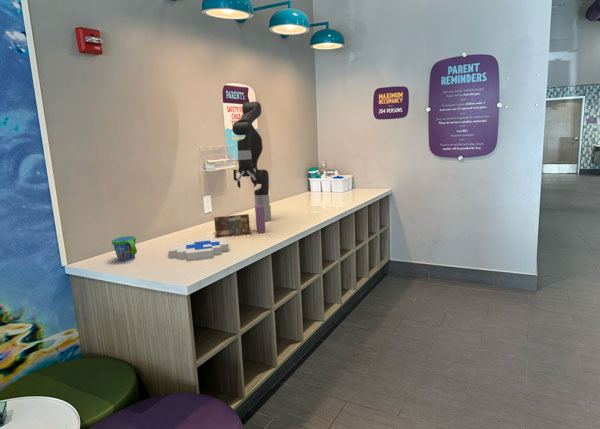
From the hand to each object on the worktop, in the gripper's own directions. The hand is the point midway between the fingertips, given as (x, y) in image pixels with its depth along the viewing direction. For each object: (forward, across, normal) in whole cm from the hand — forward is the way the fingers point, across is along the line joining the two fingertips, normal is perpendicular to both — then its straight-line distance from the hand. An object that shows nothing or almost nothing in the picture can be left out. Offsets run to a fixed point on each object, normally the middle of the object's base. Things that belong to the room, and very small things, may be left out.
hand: (247, 187), depth 238 cm
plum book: (+26, -6, -1) cm, 27 cm away
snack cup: (+26, +56, +42) cm, 75 cm away
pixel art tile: (+26, +23, +36) cm, 50 cm away
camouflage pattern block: (+26, +10, +1) cm, 28 cm away
